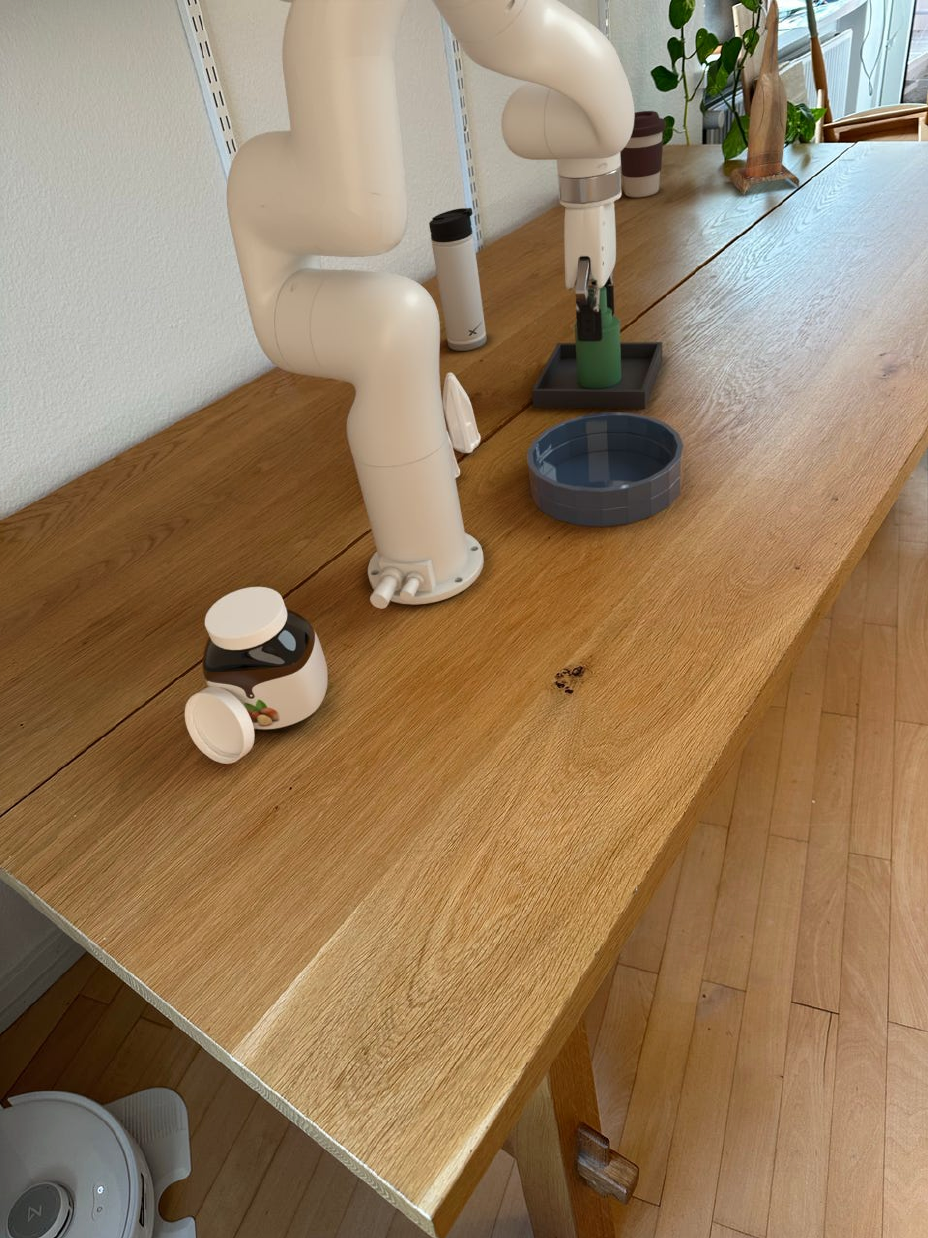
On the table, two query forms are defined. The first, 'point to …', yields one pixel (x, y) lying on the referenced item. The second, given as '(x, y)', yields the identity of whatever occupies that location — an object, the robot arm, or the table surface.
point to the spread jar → (254, 674)
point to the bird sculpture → (766, 118)
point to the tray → (629, 393)
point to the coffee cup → (643, 155)
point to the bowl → (606, 469)
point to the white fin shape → (459, 419)
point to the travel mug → (458, 279)
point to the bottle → (600, 351)
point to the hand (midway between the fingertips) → (596, 326)
